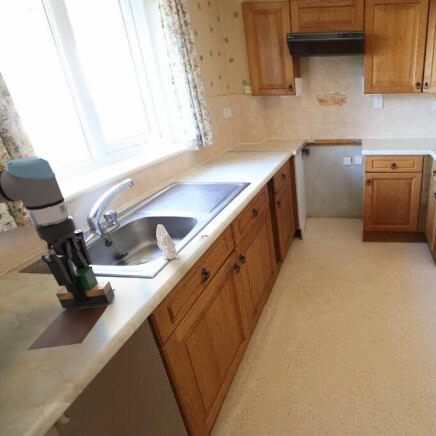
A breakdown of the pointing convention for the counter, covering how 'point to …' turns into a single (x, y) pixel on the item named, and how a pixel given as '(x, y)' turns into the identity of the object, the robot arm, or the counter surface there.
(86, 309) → the tray
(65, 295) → the brush
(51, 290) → the counter surface
